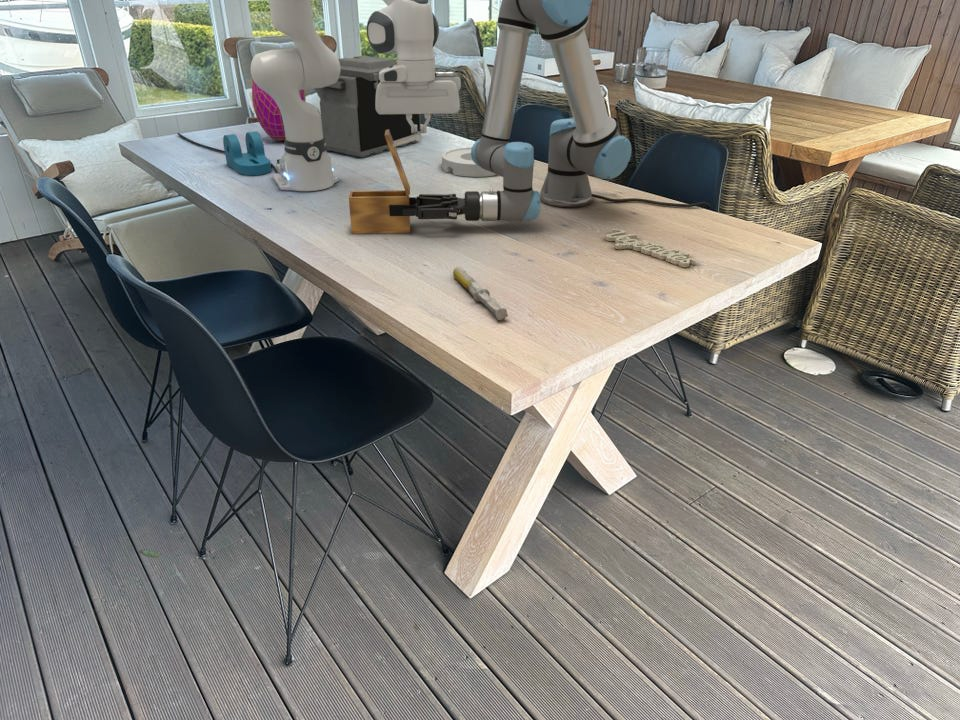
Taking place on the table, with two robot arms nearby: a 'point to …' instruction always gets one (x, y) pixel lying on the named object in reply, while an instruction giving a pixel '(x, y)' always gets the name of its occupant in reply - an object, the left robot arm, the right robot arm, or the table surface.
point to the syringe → (479, 293)
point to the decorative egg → (269, 112)
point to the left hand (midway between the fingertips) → (419, 132)
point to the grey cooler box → (359, 110)
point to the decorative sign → (649, 248)
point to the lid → (395, 155)
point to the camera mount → (246, 154)
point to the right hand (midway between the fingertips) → (390, 206)
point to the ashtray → (462, 163)
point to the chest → (377, 212)
